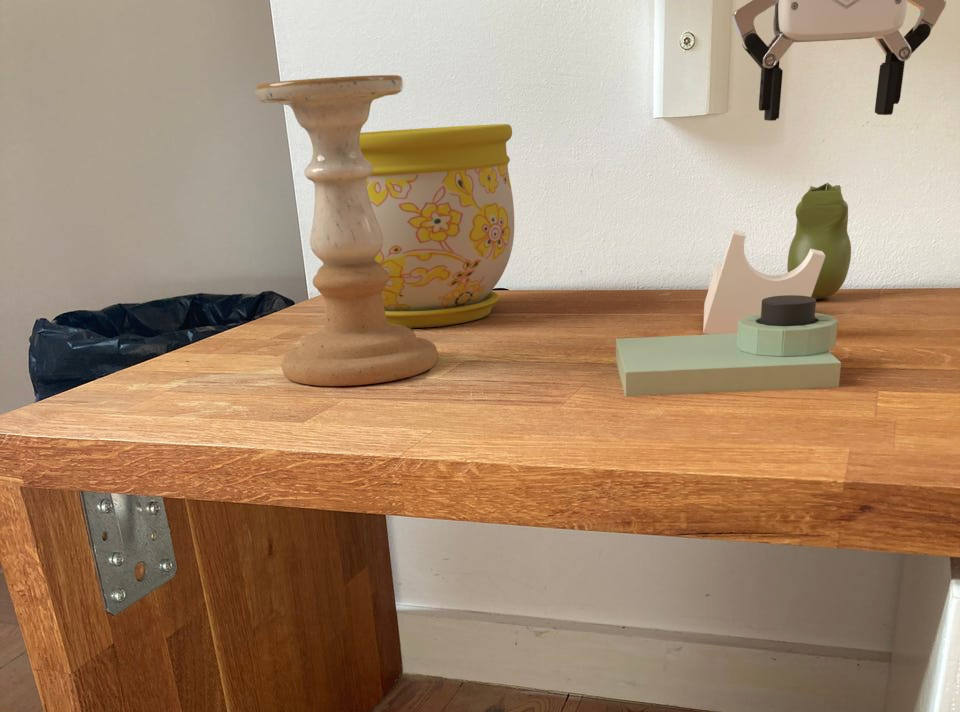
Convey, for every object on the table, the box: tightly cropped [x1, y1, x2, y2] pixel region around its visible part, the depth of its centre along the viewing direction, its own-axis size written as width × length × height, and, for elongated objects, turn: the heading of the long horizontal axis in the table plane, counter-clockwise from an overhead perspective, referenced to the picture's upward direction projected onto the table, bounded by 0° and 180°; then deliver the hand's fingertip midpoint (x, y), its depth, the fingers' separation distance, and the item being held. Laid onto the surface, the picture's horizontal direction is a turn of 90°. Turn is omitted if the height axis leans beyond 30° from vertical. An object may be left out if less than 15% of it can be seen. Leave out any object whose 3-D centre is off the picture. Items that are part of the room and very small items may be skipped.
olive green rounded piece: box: [786, 182, 852, 300], centre depth 95 cm, size 6×5×10 cm
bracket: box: [702, 229, 825, 335], centre depth 85 cm, size 13×7×8 cm, turn 169°
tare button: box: [760, 295, 817, 326], centre depth 71 cm, size 4×4×2 cm
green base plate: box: [615, 312, 842, 397], centre depth 72 cm, size 15×11×4 cm
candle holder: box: [254, 74, 439, 387], centre depth 77 cm, size 12×12×20 cm
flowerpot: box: [359, 123, 515, 329], centre depth 97 cm, size 18×18×16 cm
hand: (827, 117), depth 90 cm, fingers open, 9 cm apart
